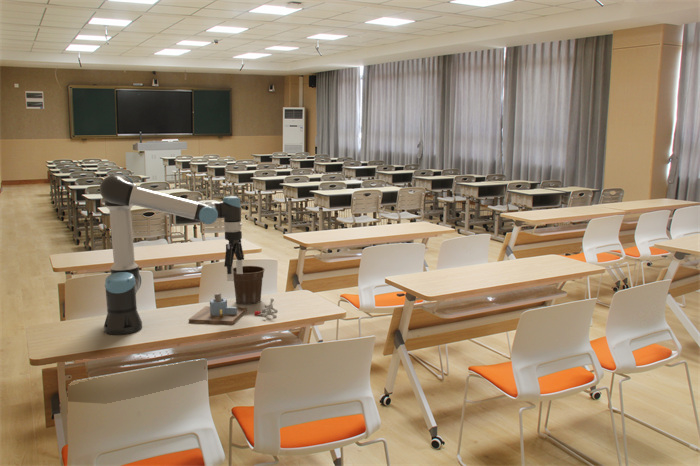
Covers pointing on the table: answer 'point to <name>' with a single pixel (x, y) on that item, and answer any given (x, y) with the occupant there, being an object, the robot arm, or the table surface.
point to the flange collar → (222, 305)
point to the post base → (206, 317)
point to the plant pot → (248, 284)
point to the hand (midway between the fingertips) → (235, 277)
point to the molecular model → (267, 310)
